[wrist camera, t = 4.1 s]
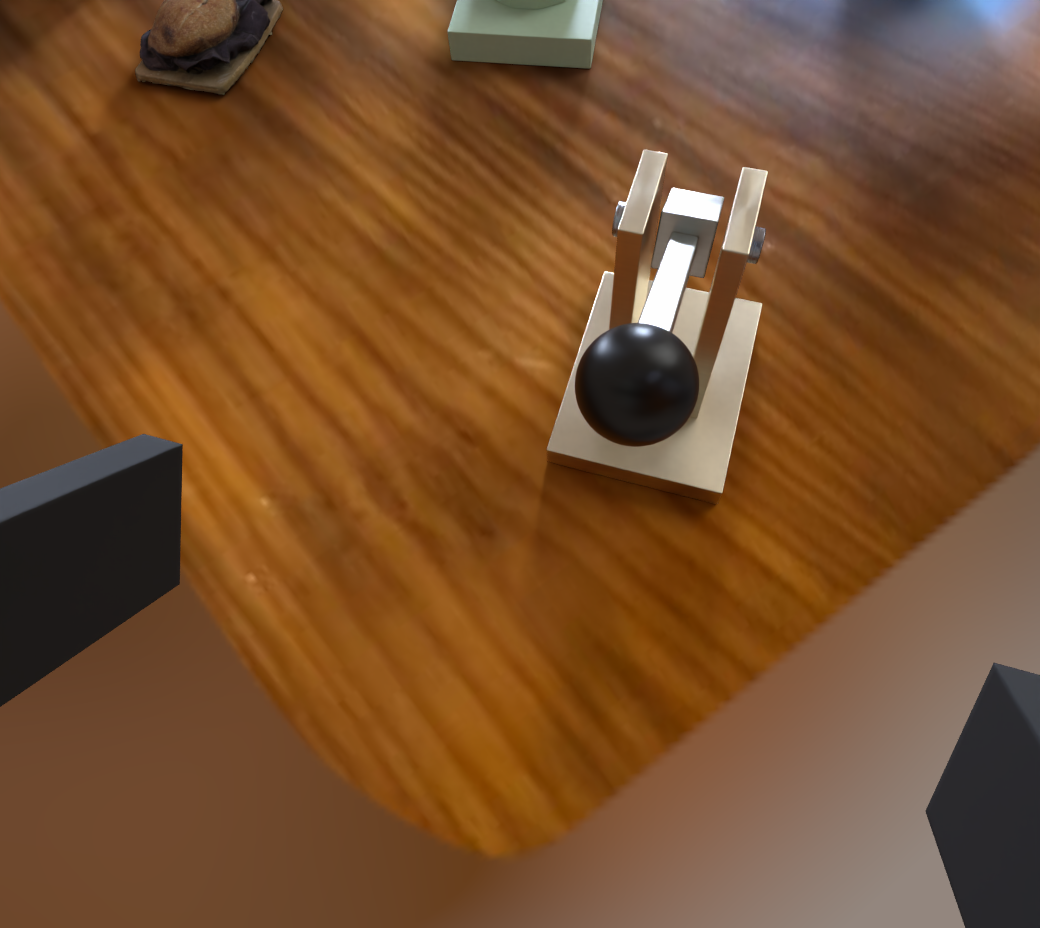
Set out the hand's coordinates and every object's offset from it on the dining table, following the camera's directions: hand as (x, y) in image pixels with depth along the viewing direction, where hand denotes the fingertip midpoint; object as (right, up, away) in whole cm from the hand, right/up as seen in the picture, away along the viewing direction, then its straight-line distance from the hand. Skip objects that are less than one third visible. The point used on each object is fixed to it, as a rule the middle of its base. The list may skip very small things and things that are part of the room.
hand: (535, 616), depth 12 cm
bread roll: (-23, +34, +45) cm, 61 cm away
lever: (+5, +7, +16) cm, 18 cm away
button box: (+1, +37, +45) cm, 58 cm away
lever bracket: (+7, +7, +30) cm, 31 cm away
